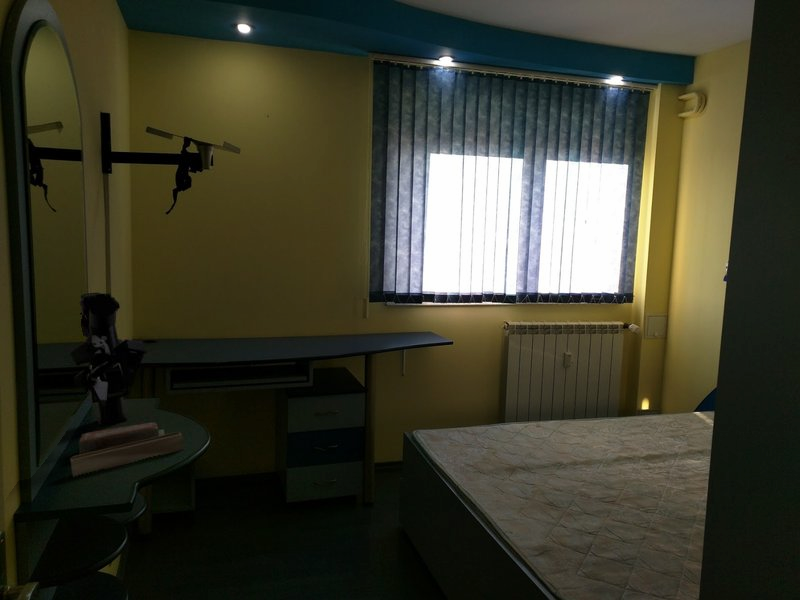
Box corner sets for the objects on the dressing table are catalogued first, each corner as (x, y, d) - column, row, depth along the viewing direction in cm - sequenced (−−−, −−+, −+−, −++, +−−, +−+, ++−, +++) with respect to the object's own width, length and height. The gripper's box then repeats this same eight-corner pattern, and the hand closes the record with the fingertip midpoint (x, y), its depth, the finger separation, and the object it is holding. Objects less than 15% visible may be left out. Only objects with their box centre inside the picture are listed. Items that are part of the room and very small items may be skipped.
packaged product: (75, 444, 127) (79, 429, 136) (78, 465, 127) (82, 449, 136) (164, 427, 134) (162, 415, 143) (167, 447, 135) (164, 433, 144)
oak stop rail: (72, 473, 122) (69, 456, 121) (181, 446, 133) (180, 430, 133) (73, 477, 120) (70, 459, 120) (183, 449, 132) (182, 433, 131)
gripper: (48, 353, 137) (57, 413, 131) (100, 312, 132) (112, 373, 126) (91, 359, 147) (101, 415, 141) (141, 322, 142) (154, 379, 135)
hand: (116, 396), depth 135 cm, fingers open, 9 cm apart
